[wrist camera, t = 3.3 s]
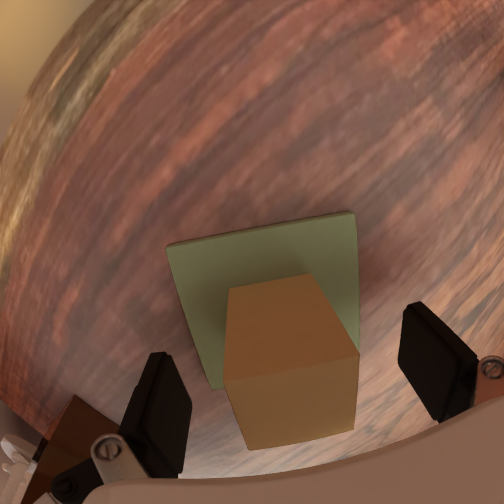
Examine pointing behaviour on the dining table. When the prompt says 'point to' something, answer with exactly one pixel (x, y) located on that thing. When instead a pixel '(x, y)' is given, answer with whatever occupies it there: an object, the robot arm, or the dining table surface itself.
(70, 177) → the dining table surface
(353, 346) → the block on board
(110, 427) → the cylinder on cube
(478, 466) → the robot arm
